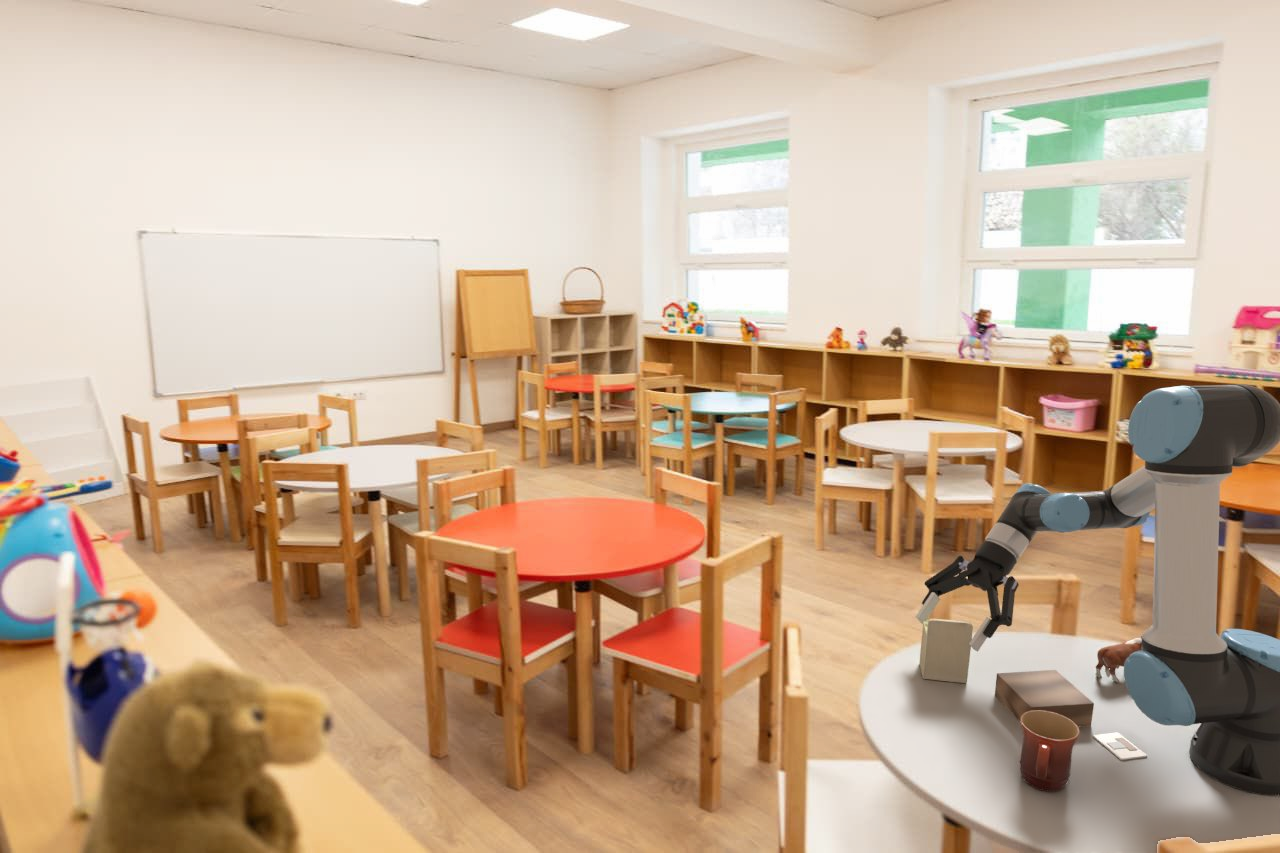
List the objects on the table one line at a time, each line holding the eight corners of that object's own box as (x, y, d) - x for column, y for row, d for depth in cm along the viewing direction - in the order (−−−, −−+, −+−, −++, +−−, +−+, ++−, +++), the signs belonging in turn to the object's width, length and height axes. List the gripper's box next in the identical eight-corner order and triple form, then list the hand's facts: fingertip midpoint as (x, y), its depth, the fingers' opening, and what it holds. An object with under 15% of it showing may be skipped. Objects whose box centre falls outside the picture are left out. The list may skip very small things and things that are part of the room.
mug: (1018, 758, 145) (1024, 704, 143) (1075, 774, 141) (1082, 719, 139) (1006, 797, 135) (1012, 740, 133) (1067, 816, 131) (1075, 757, 129)
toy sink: (961, 666, 176) (966, 607, 173) (967, 684, 169) (973, 623, 166) (918, 662, 178) (923, 604, 175) (923, 680, 171) (927, 620, 168)
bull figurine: (1159, 677, 171) (1164, 640, 169) (1102, 685, 168) (1107, 648, 166) (1142, 666, 175) (1147, 630, 173) (1086, 674, 172) (1091, 638, 170)
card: (1147, 757, 145) (1147, 754, 145) (1121, 760, 145) (1121, 758, 144) (1117, 733, 152) (1117, 731, 152) (1092, 736, 151) (1093, 734, 151)
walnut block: (1090, 727, 155) (1093, 703, 153) (1028, 732, 153) (1031, 707, 152) (1052, 693, 166) (1055, 669, 165) (994, 696, 165) (996, 673, 164)
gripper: (1062, 580, 168) (1005, 669, 164) (959, 540, 189) (907, 618, 185) (1048, 560, 164) (989, 651, 160) (944, 522, 185) (890, 601, 181)
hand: (945, 634), depth 173 cm, fingers open, 13 cm apart
